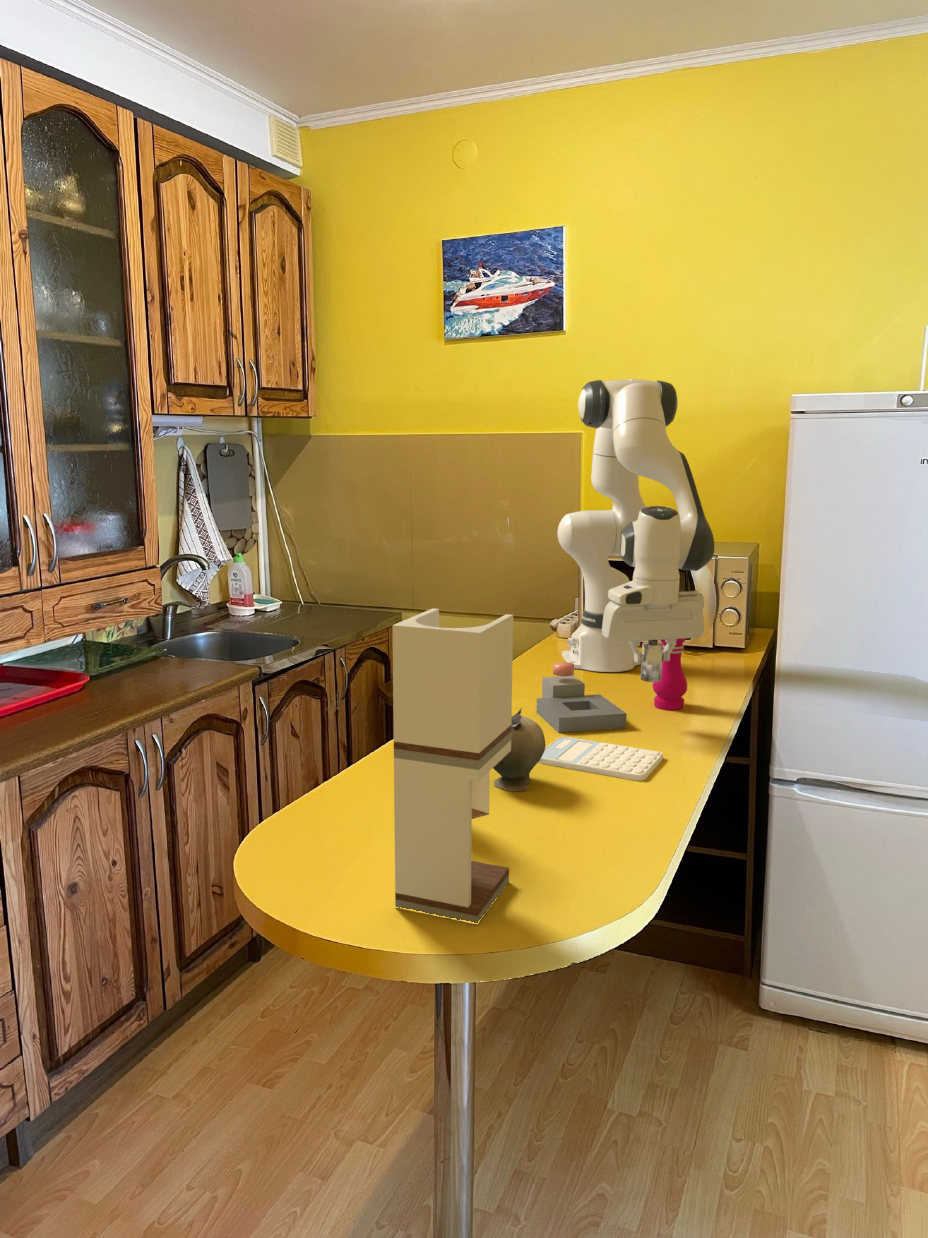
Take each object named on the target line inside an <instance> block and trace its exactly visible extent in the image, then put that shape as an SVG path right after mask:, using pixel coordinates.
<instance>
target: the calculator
mask: <svg viewBox="0 0 928 1238" xmlns="http://www.w3.org/2000/svg"><path fill="white" fill-rule="evenodd" d="M663 760H664V754H663V752H661V751H659V750H658V751H657V750H650V749H646V748H638V747H633V746H626V745H621V744H614V743H608V742H600V741H594V740H588V739H581V738H575V737H569V736H559V737H558V738H556V739H555V740H553V742H551V743H549V744H548V745H546V746H545V751H544V753H543V755H542V757H541V759H540V761H539V762H538V763H537V764H541V765H545V766H546V765H547V766H552V767H558V768H564V769H567V770H575V771H579V772H580V771H581V772H585V773H589V774H590V773H591V774H597V775H603V776H608V777H613V778H619V779H625V780H630V781H635V782H642V781H644V780H646V779H647V778H648V777H649V776H650V775H651V774H652V773H653V772H654V770H655V769H656V768H657V767H658V766H659V765H660V763H661V762H663Z"/></svg>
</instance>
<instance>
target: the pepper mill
mask: <svg viewBox="0 0 928 1238" xmlns="http://www.w3.org/2000/svg"><path fill="white" fill-rule="evenodd" d="M686 640H687V638H682V639H677V640H676V645H675V647H674V648H673V650H672V652H671V653H670V661H662V675H661V681H659V682H652V690H653V692H654V693H655V694H656V695H655V696H654V699H653V706H654V707H655V708H656V709H660V710H664V711H678V710H679V711H680V710H682V709H684V707H685V698H684V697H683V696H684V695H686V693H687V691H688V682H687V678H686V676H685V674H684V671H683V667H682V654H683V653H684V651H685V650H684V647H685V645H684V644H683V643H684V642H685V641H686ZM660 643H663V650H664V648H665V646H666V645H667V642H665V639H663V640H660Z"/></svg>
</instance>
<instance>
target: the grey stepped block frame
mask: <svg viewBox="0 0 928 1238" xmlns="http://www.w3.org/2000/svg"><path fill="white" fill-rule="evenodd" d="M541 682H542V689H541V690H542V691H541V692H542V693H541V697H539V698H537V697H536V713H537V715H539V716H540V717H541V718H542V719H544V720H545V722H546V723H547V724H548V725H549V726H551V727H552V728H553V729H554V730H555V731H556V732H557V733H559V734H560V733H562V734H563V733H573V732H574V733H576V732H591V731H602V730H603V731H604V730H616V729H626V728H627V712H625V711H624V710H623V709H621V708H620V707H619V706H617V705H616V704H614V703H613V702H611V701H610V700H608V699H607V698H606V697H604V696H603V695H602V694H597V693H596V694H585V693H586V692H585V685H586V683H584V682H583V681H582V680H580V679H579V678H577V677H576V676H574V675H572V676H557V675H555V676H543V677H542V680H541Z"/></svg>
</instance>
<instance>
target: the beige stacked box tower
mask: <svg viewBox="0 0 928 1238" xmlns="http://www.w3.org/2000/svg"><path fill="white" fill-rule="evenodd" d="M513 639H514V614H510V613H509V614H507V613H506V614H504V615H502V616H500V617H499V618H497V619H495V620H493V621H491V622H489V623H487V624H484V625H478V626H472V627H440V609H439V608H431V609H427V610H426V611H424V612H421V613H419V614H416V615H413V616H411V617H409V618H407V619H406V618H405V619H404V620H402V621H399V622H398V623H397V622H396V623H395V624H392V690H393V691H392V692H393V693H392V699H393V701H392V703H393V705H392V707H393V708H392V709H393V712H392V714H393V716H392V717H393V779H394V780H393V786H394V787H393V797H394V798H393V803H394V806H393V807H394V809H393V810H394V811H393V812H394V813H393V814H394V815H393V816H394V887H395V888H394V892H395V894H394V895H395V897H394V899H395V901H394V903H395V904H394V906H396V907H399V908H400V907H401V908H406V909H413V910H416V911H422V912H425V913H429V914H436V915H439V916H445V917H449V918H456V919H457V920H460V919H461V920H466V921H471V922H474V923H478V921H479V920H480V919H481V918H482V916H483V915H484V914H485V913H486V912H487V910H488V909H489V908H490V906H491V905H492V903H493V902H494V901H495V899H496V898H497V897H498V896H499V897H500V895H501V894H502V893H501V892H503V891H504V890H505V889H504V887H505V888H506V887H507V886H508V885H509V883H510V867H507V866H503V865H497V864H491V863H486V862H480V861H474V860H472V836H473V835H472V824H473V823H472V822H473V821H472V820H475V819H478V818H481V817H484V816H485V817H486V816H489V815H490V785H491V784H490V783H491V782H490V781H491V780H490V778H491V776H490V773H491V771H492V769H494V768H493V767H494V766H495V765H496V764H498V763H499V762H500V761H501V760H502V759H503V758H504V757H505V756H506V755H507V754H508V753H509V752H510V751H511V721H512V716H513V714H512V713H513V712H512V711H513V710H512V709H513V704H512V703H513V658H514V657H513V653H514V652H513V651H514V649H513V648H514V647H513V646H514V645H513V644H514V640H513ZM506 885H507V886H506ZM503 889H504V890H503ZM502 890H503V891H502ZM500 893H501V894H500ZM499 894H500V895H499ZM499 897H498V898H499ZM498 898H497V899H498ZM497 899H496V900H497ZM495 902H496V901H495ZM495 902H494V903H495ZM492 906H493V905H492ZM492 906H491V907H492ZM490 909H491V908H490ZM490 909H489V910H490ZM489 910H488V911H489ZM487 913H488V912H487ZM487 913H486V914H487Z"/></svg>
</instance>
